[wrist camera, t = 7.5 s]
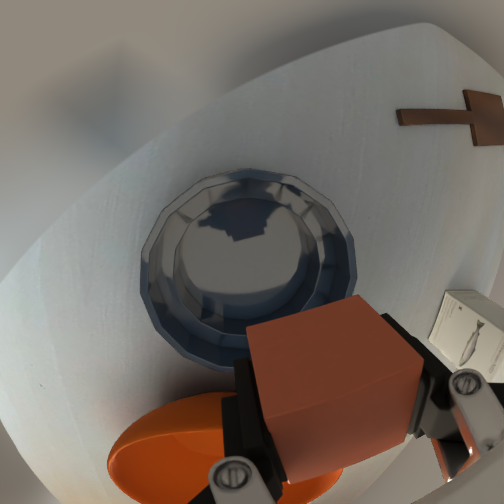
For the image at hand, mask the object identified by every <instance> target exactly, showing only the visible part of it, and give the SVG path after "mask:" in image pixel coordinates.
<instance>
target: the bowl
mask: <svg viewBox="0 0 504 504" xmlns="http://www.w3.org/2000/svg"><path fill="white" fill-rule="evenodd" d="M232 395H237V393H234V392H209V393H203V394H198V395H195V396H192V397H188V398H184V399H180V400H177V401H174V402H171V403H168V404H166V405H163V406H161V407H159V408H157V409H155V410H153V411H151V412H149V413H147V414H146V415H144V416H143V417H141V418H140V419H138V420H137V421H136V422H134V423H133V424H132V425H131V426H130V427H129V428H127V429H126V430H125V431H124V432H123V433H122V434H121V436H120V437H119V438H118V440H117V441H116V442H115V444H114V445H113V447H112V449H111V451H110V453H109V456H108V460H107V469H108V472H109V475H110V477H111V479H112V480H113V482H114V483H115V484H116V486H117V487H118V488H119V489H121V490H122V491H123V492H124V493H125V494H127V495H128V496H129V497H131V498H132V499H134V500H136V501H137V502H139V503H141V504H187V503H188V502H190V501H191V500H192V499H193V498H194V497H195V496H197V495H198V494H199V493H200V492H201V491H202V490H203V489H204V488H205V487H207V486H208V485H209V481H208V474H209V470H210V469H211V467H212V466H213V465H214V464H215V463H216V462H217V461H219V460H221V459H223V458H224V444H223V428H222V411H221V398H223V397H228V396H232ZM342 471H343V468H342V469H339V470H336V471H333V472H330V473H327V474H324V475H321V476H318V477H315V478H311V479H308V480H304V481H300V482H297V483H293V484H289V483H288V481H286V482H282V484H283V488H284V489H283V490H282V492H283V496H282V497H281V498H280V499H279V500H278V501H277V504H307V503H309V502H311V501H313V500H314V499H316V498H318V497H319V496H321V495H322V494H323V493H325V492H326V491H327V490H329V489H330V488H331V487H332V486H333V485H334V484H335V483H336V481H337V480H338V479H339V477H340V475H341V474H342Z"/></svg>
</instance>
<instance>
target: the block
mask: <svg viewBox="0 0 504 504" xmlns="http://www.w3.org/2000/svg"><path fill="white" fill-rule="evenodd" d="M246 332H247V337H248V342H249V347H250V352H251V357H252V363H253V368H254V373H255V378H256V383H257V387H258V392H259V397H260V402H261V407H262V412H263V417H264V420H265V423H266V426H267V428H268V431H269V432H270V433H271V436H272V438H273V441H274V444H275V447H276V449H277V452H278V455H279V457H280V460H281V463H282V465H283V468H284V470H285V473H286V476H287V479H288V483H289V484H293V483H297V482H300V481H304V480H308V479H311V478H315V477H318V476H321V475H324V474H327V473H330V472H333V471H336V470H339V469H342V468H345V467H348V466H350V465H353V464H355V463H358V462H361V461H363V460H365V459H368V458H370V457H373V456H375V455H377V454H379V453H382V452H384V451H386V450H388V449H390V448H392V447H395V446H397V445H399V444H401V443H403V442H404V440H405V437H406V434H407V429H408V426H409V422H410V419H411V415H412V411H413V407H414V403H415V399H416V395H417V390H418V386H419V381H420V376H421V373H422V368H423V362H424V359H423V358H422V357H421V356H420V355H419V354H418V353H417V352H416V351H415V350H414V349H413V348H412V347H411V346H410V345H409V344H408V343H407V342H406V341H405V340H404V339H403V338H402V337H401V336H400V335H399V334H398V333H397V332H396V331H395V330H394V329H393V328H392V327H391V326H390V325H389V324H388V323H387V322H386V321H385V320H384V319H383V318H382V317H381V316H380V315H379V314H378V313H377V312H376V311H375V310H374V309H373V308H372V307H371V306H370V305H369V304H368V303H367V302H366V301H365V300H364V299H363V298H361V297H360V296H359V295H354V296H351V297H348V298H345V299H342V300H339V301H336V302H332V303H329V304H326V305H323V306H320V307H316V308H313V309H310V310H306V311H303V312H299V313H296V314H293V315H289V316H286V317H282V318H278V319H275V320H271V321H267V322H264V323H260V324H256V325H252V326H248V327H246Z"/></svg>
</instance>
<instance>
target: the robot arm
mask: <svg viewBox="0 0 504 504" xmlns="http://www.w3.org/2000/svg"><path fill="white" fill-rule="evenodd" d="M380 316H381V317H382V318H383V319H384V320H385V321H386V322H387V323H388V324H389V325H390V326H391V327H392V328H393V329H394V330H395V331H396V332H397V333H398V334H399V335H400V336H401V337H402V338H403V339H404V340H405V341H406V342H407V343H408V344H409V345H410V346H411V347H412V348H413V349H414V350H415V351H416V352H417V353H418V354H419V355H420V356H421V357H422V358H423V359H424V362H423V368H422V373H421V376H420V381H419V386H418V390H417V395H416V399H415V403H414V407H413V411H412V415H411V419H410V422H409V426H408V429H407V433H408V434H410V435H411V434H413V435H414V437H415V438H416V439H417V438H419V437H421V436H423V435H424V434H426V436H427V437H428V438H431V442H432V444H433V447H434V450H435V453H436V456H437V459H438V462H439V465H440V468H441V472H442V475H443V479H444V482H445V484H444V485H443V486H441V487H439V488H438V489H436V490H434V491H433V492H431V493H429V494H428V495H426V496H424V497H423V498H421V499H419V500H417V501H415V502H413V503H411V504H504V383H492V382H487V381H486V380H485V378H484V377H483V375H482V374H481V373H480V372H478V371H477V370H474V369H470V368H464V369H460V370H458V371H456V372H454V373H452V372H451V371H450V370H449V369H448V368H447V367H446V366H445V365H444V364H443V363H442V362H441V361H440V360H439V359H438V358H437V357H436V356H435V355H434V354H432V353H431V352H430V351H429V350H428V349H427V348H426V347H425V346H424V345H423V344H422V343H421V342H420V341H419V340H418V339H417V338H415V337H413V336H411V335H410V334H409V333H408V332H407V331H406V330H405V329H404V328H403V327H402V326H400V325H399V324H398V323H397V322H396V321H395V320H394V319H393V318H392V317H391V316H390V315H389V314H387V313H384V314H382V315H380ZM233 364H234V373H235V382H236V391H237V395H232V396H228V397H223V398H221V411H222V428H223V444H224V458H223V459H221V460H219V461H217V462H216V463H215V464H214V465H213V466H212V467H211V469H210V470H209V474H208V481H209V485H208V486H207V487H205V488H204V489H203V490H202V491H201V492H200V493H199V494H198V495H197V496H195V497H194V498H193V499H192V500H191V501H190V502H188V503H187V504H277V501H278V500H279V499H280V498H281V497H282V496H283V492H282V490H283V489H284V488H283V484H282V482H286V481H288V479H287V476H286V473H285V470H284V468H283V465H282V463H281V460H280V457H279V455H278V452H277V449H276V447H275V444H274V441H273V438H272V436H271V433H270V432H269V431H268V428H267V426H266V423H265V420H264V417H263V412H262V407H261V402H260V397H259V392H258V387H257V383H256V378H255V373H254V368H253V363H252V360H249V358H248V357H244V358H240V359H236V360H233Z"/></svg>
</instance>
